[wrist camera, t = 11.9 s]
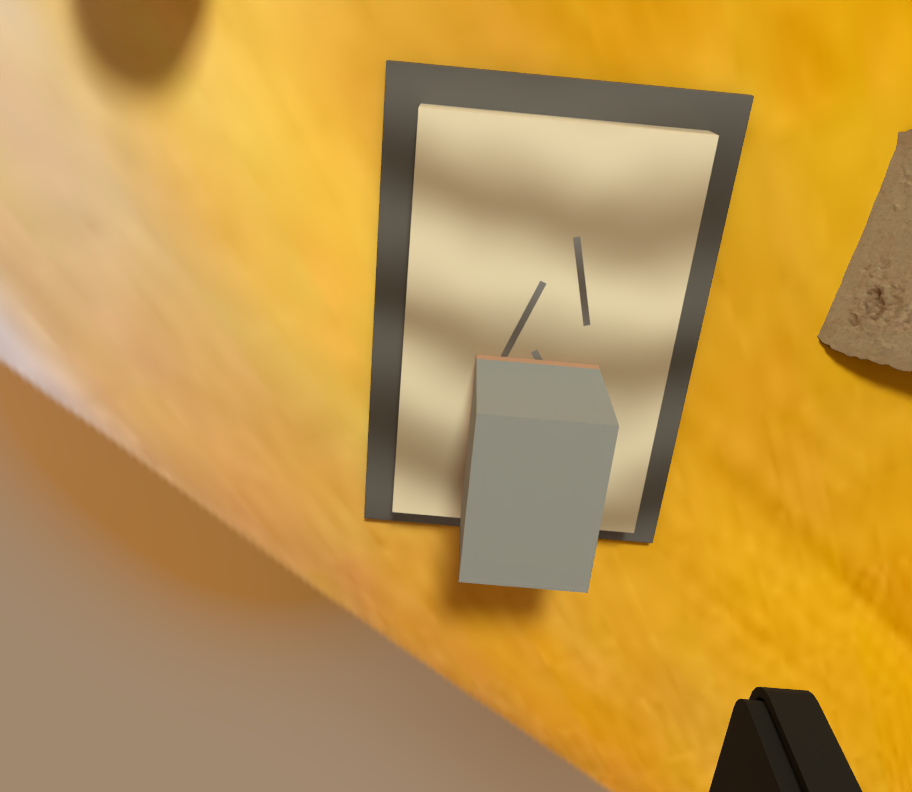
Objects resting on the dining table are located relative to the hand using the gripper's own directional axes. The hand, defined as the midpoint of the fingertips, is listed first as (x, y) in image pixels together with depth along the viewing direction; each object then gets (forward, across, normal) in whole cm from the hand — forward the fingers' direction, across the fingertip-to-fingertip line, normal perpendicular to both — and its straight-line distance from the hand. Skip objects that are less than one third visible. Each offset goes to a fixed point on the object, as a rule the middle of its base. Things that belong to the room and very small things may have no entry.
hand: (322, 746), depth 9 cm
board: (+30, -5, +5) cm, 30 cm away
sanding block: (+28, -5, +10) cm, 30 cm away
